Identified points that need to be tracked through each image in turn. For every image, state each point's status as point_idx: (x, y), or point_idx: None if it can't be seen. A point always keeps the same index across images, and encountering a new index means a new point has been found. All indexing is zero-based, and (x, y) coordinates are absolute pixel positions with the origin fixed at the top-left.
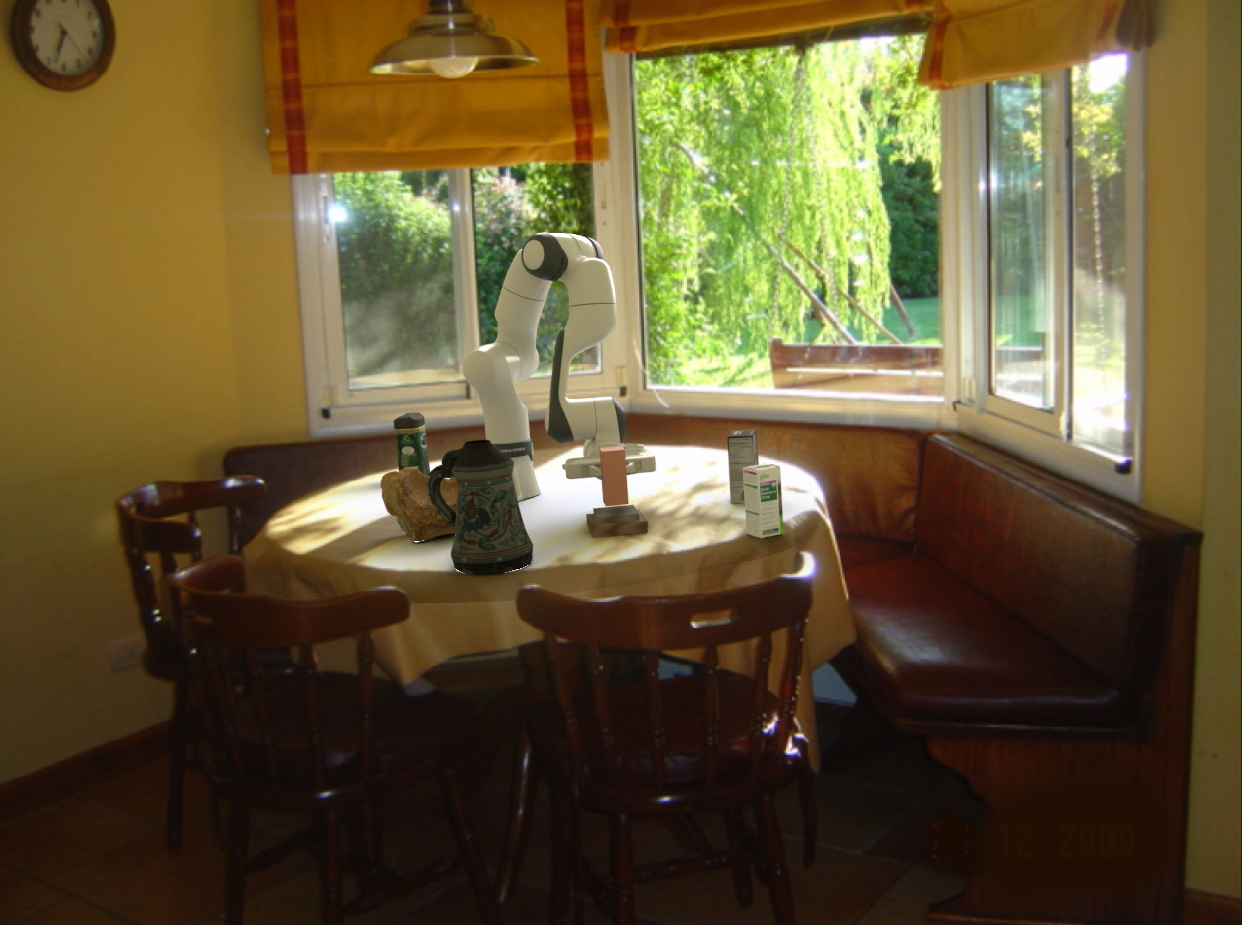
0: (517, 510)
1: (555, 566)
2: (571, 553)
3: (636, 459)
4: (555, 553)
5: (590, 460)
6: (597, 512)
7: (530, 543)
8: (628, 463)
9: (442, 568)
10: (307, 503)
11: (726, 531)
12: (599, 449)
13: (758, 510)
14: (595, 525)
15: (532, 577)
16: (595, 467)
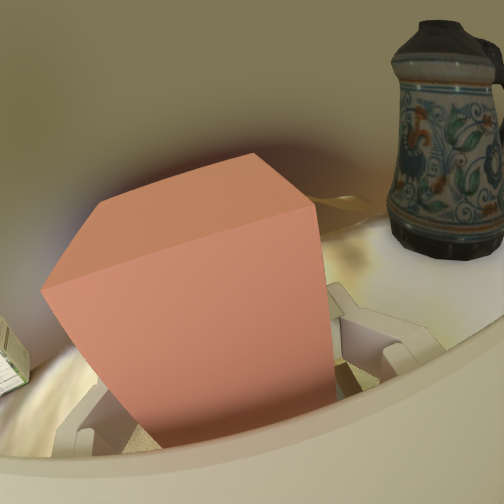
0: (400, 143)
1: (348, 234)
2: (351, 280)
3: (23, 457)
4: (384, 276)
5: (479, 404)
6: None
7: (391, 204)
8: (95, 432)
9: None
10: None
11: (43, 405)
12: (313, 218)
13: (4, 322)
14: (337, 369)
15: (359, 207)
16: (361, 319)
